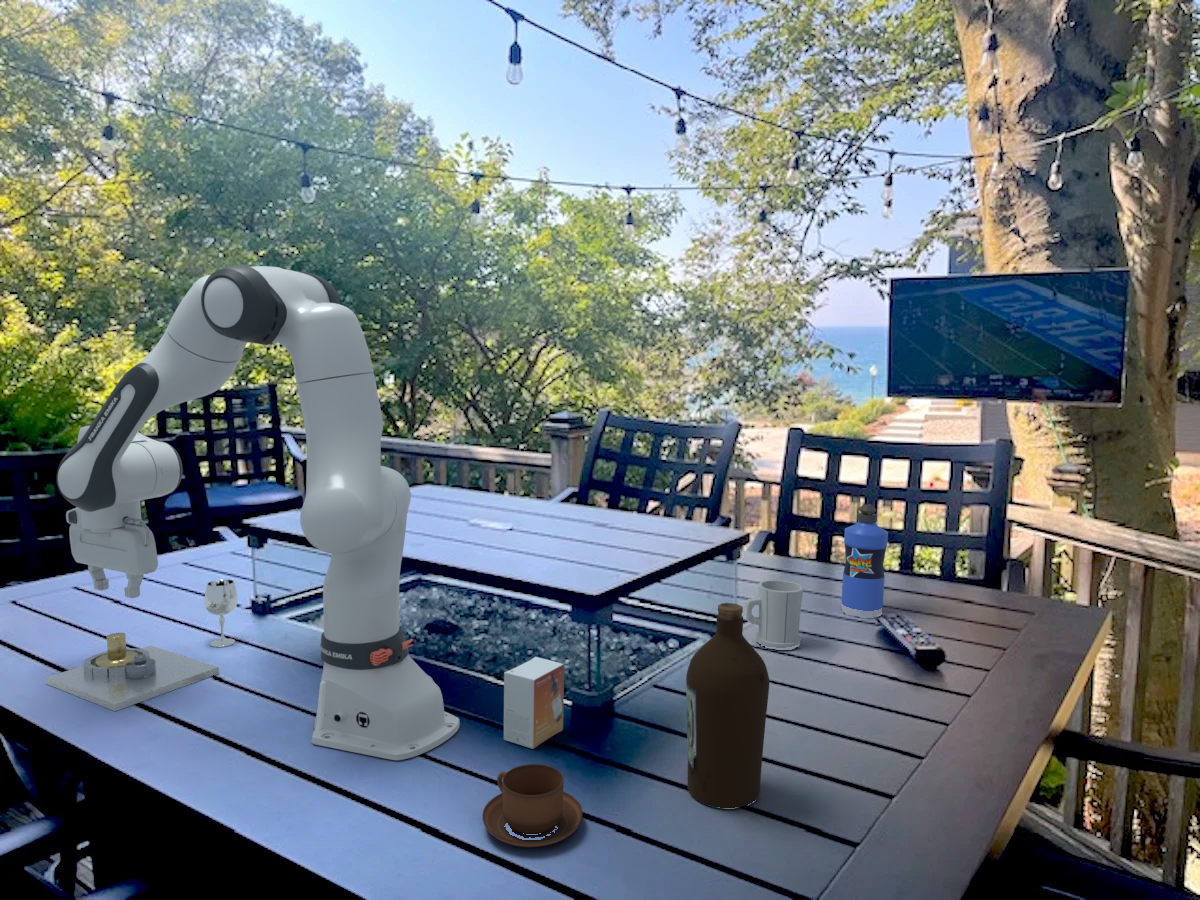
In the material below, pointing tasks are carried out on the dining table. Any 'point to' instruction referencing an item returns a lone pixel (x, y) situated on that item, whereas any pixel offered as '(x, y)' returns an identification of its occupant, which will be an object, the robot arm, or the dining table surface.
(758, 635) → the cup
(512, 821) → the cup and saucer
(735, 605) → the olive oil
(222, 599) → the wineglass
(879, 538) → the water bottle
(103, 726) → the dining table surface
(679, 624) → the dining table surface
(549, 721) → the small box
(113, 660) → the brass flanged cylinder
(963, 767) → the dining table surface
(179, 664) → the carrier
